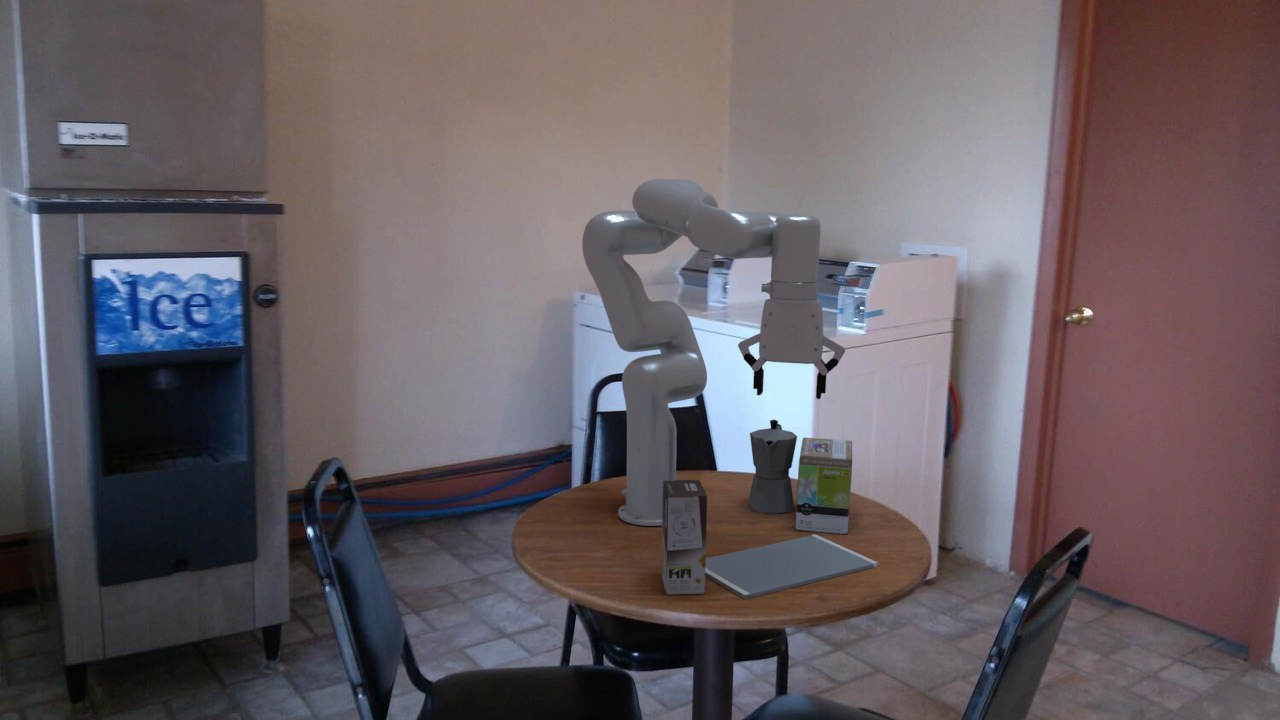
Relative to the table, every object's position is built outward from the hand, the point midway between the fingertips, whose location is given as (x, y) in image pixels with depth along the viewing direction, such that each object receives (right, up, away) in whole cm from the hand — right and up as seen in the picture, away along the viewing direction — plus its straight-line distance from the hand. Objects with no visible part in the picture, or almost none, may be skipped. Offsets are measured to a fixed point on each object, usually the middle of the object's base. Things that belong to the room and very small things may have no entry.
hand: (789, 395), depth 163 cm
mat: (0, -29, +4) cm, 29 cm away
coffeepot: (+2, -24, +37) cm, 44 cm away
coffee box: (-18, -30, -4) cm, 35 cm away
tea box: (+11, -25, +28) cm, 39 cm away
